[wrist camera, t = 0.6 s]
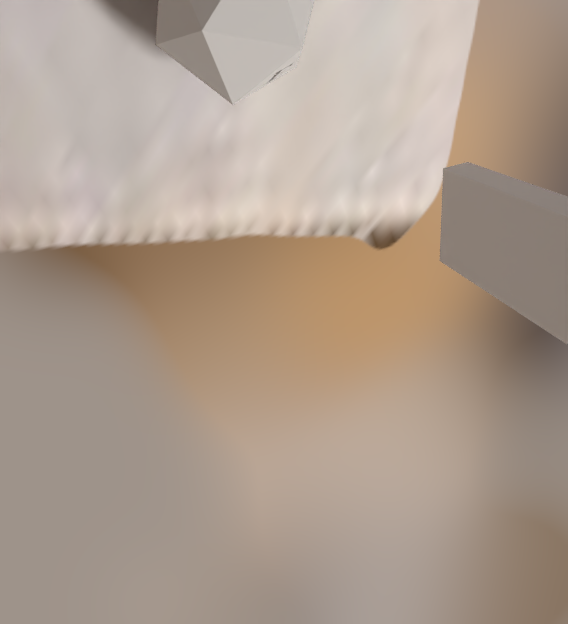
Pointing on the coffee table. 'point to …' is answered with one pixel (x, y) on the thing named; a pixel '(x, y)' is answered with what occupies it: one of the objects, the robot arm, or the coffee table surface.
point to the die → (234, 40)
